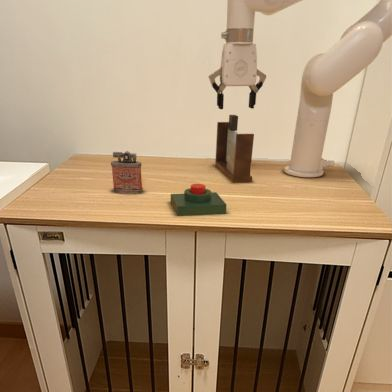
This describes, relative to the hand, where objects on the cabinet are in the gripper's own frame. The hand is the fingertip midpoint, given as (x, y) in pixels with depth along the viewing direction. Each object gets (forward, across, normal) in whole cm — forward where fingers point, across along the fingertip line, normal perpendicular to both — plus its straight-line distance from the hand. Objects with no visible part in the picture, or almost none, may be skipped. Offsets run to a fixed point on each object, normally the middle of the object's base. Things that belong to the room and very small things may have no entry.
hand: (236, 108), depth 124 cm
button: (+14, -20, -37) cm, 44 cm away
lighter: (+17, -36, -21) cm, 45 cm away
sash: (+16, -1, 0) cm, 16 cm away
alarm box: (+17, -20, -37) cm, 45 cm away
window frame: (+18, -1, -5) cm, 18 cm away
